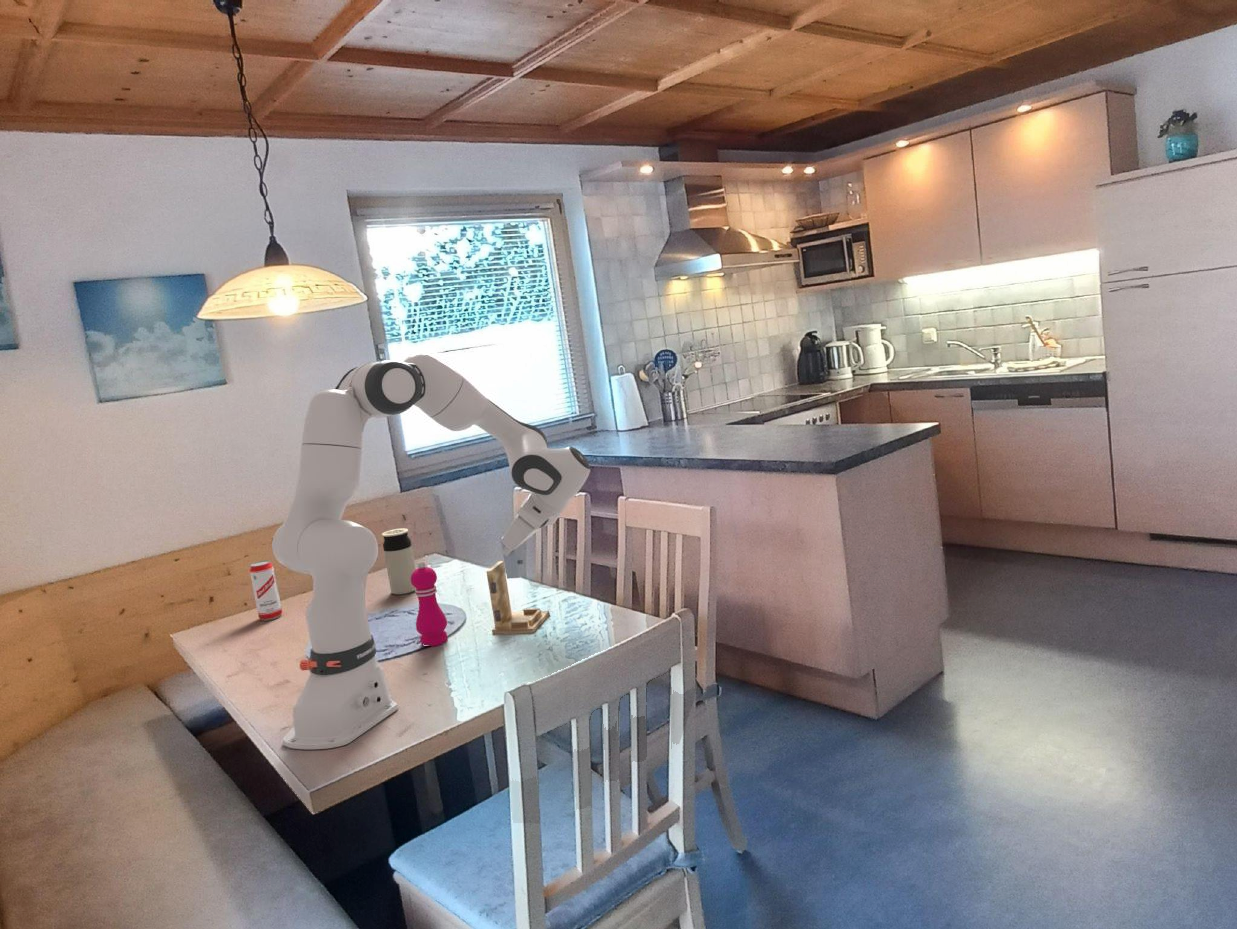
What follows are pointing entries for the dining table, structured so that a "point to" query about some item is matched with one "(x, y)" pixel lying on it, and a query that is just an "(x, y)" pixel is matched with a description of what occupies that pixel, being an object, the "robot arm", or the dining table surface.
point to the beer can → (265, 590)
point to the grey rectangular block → (514, 562)
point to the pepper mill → (428, 607)
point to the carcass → (501, 606)
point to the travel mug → (399, 560)
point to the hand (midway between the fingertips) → (510, 549)
